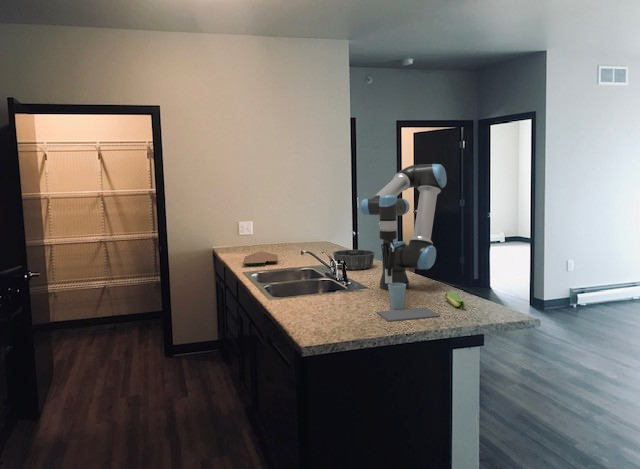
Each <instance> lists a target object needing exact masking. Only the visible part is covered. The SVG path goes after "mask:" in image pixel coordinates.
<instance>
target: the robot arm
mask: <svg viewBox="0 0 640 469" xmlns="http://www.w3.org/2000/svg"><path fill="white" fill-rule="evenodd" d="M447 178H448V177H447V171H446V169H445V167H444V166H443V165H442V164H438V163H432V164H431V163H430V164H429V163H428V164H413V165H409V166H406V167H404V168H403V169H401V170H399V171H398V172H397V173H396V174H395V175H393V177H392V180H391V181H389V183H387V184H386V185H385V186H384V187H383V188H381V189H380V190H379V191H378V192H377V193H376V194H375V195H373V197H371V198H364V199H362V201H361V202H360V211H361V213H362V214H363V215H367V216H379V222H378V226H379V239H380V240H382V244H380V247H381V257H382V274H381V277H380V280H379V288H380V289H382V290H388V291H389V289H388V284H390V283H404V284H406V290H407V289H409V288H410V280H409V278H408V277H409V276H408V275H407V271H406V270H407V269H415V270H429V269H431V268H432V266H434V264H435V261H436V259H437V249H436V247H435V246H434V243H433V241H432V232H433V227H434V226H433V224H434V219H435V212H436V204H437V197H438V195H439V194H440V193H441V192H442V188H445V187H446V185H447V181H448V180H447ZM410 188H411V189H413V188H417V191H418V192H419V197H418V204H417V211H416V218H415V223H414V230H413V236H412V237H411V239H409V242H408V244H406V241H403V240H402V241H394V240H396V239H397V238H398V235H397V233H398V232H397V229H398V227H397V224H398V221H397V216H404V215H406V214H407V213H408V212H409V210H410V202H409V201H408V200H407V199H404V198H397V197H398V196H399V195H400V194H401V193H402V192H404V191H407V190H408V189H410Z"/></svg>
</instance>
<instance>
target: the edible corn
mask: <svg viewBox="0 0 640 469" xmlns="http://www.w3.org/2000/svg"><path fill="white" fill-rule="evenodd" d="M445 299H446V301H447V302H448V303H449V304H451V305H452V306H453V307H454V308H455V309H459V310H460V309H461V310H463V309H464V310H465V309H466V304H465V302H464V301H463V300H462V298H461V297H460V296H459V295H458V294H457V293H456V292H455V291H447V293H445ZM457 307H458V308H457Z"/></svg>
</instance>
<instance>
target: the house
mask: <svg viewBox="0 0 640 469" xmlns="http://www.w3.org/2000/svg"><path fill="white" fill-rule="evenodd" d="M267 261H268V262H278V261H279V255H278V254H274V253H271V252H266V251H257V252H255V253H251V254H249V255H246V256H244V258H243V261H242V264H243V267H244V266H245V267H246V264H255V265H257V264H258V265H257V267H258V266H260V264H262V266H264V265H265V266H266V263H267ZM245 263H246V264H245Z"/></svg>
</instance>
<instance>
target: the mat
mask: <svg viewBox="0 0 640 469" xmlns="http://www.w3.org/2000/svg"><path fill="white" fill-rule="evenodd" d="M376 314H378V316H380V317H381V318H382V319H384V320H385V321H386V322H388V323H389V322H400V321H410V320H421V319H433V318H440V317H441V315H440V314H438V313H436V312H435V311H433V310H431V309H429V308H428V307H416V308H403V309H400V310H395V309H392V310H380V311H376Z"/></svg>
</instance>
